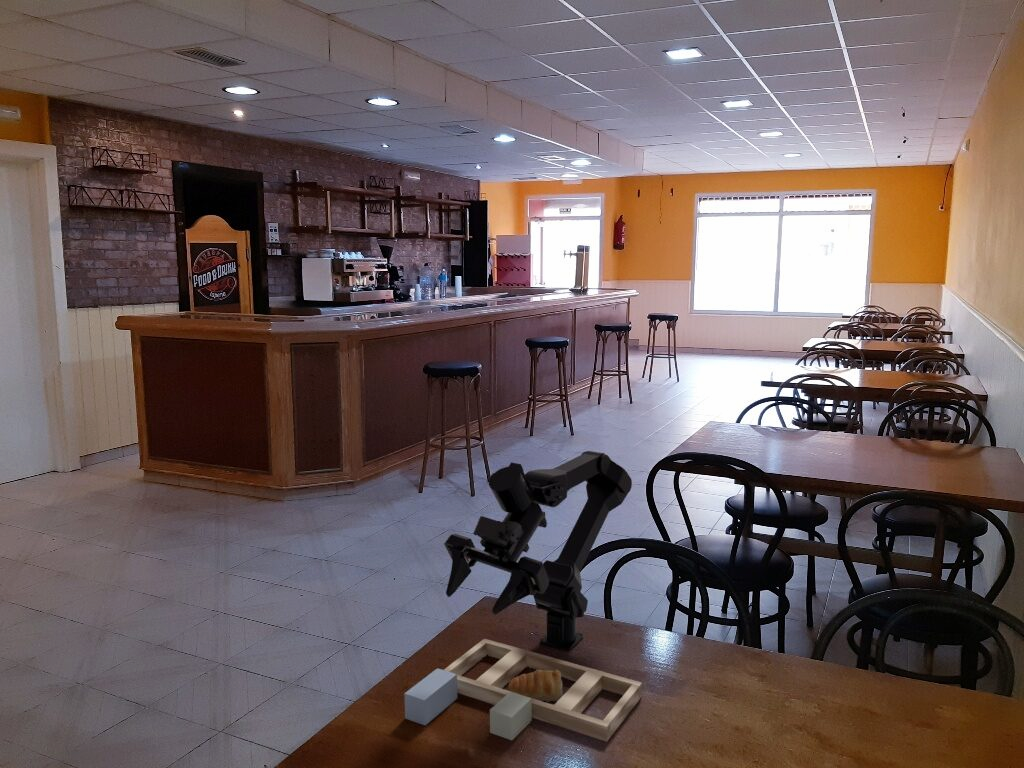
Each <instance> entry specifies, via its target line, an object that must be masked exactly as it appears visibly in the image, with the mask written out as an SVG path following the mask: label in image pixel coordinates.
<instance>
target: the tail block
mask: <svg viewBox="0 0 1024 768" xmlns="http://www.w3.org/2000/svg"><path fill="white" fill-rule="evenodd" d="M530 721H531V722H532V721H533V717H532V706H531V698H528V697H525V696H522V695H519V694H516V693H513V692H509V693H508V694H507V695H506V696H505V697H503V698H502V699H501V700H500V701H499V702H498V703H497V704H496V705H493V706H492V707H491V708H490V709H489V733H490V734H493V735H496V736H499V737H501V738H504V739H507V740H510V741H513V740H514V739H515V738H516V737H518V735H519V734H520V733H521V732H522V731H523V730H524V729H525V728H526V727H528V725H529V724H531V722H530Z"/></svg>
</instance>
